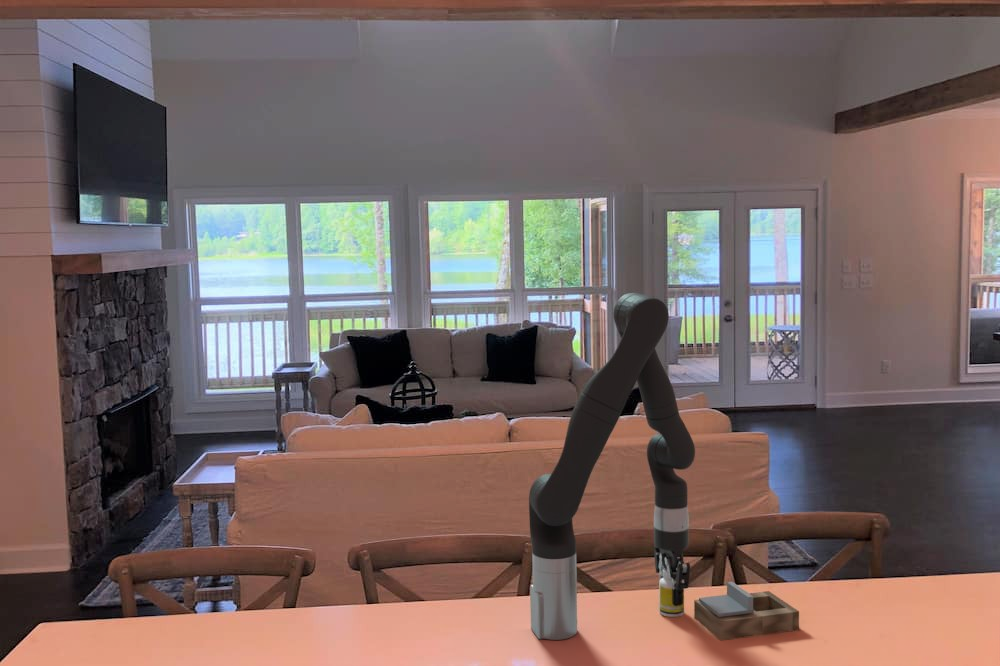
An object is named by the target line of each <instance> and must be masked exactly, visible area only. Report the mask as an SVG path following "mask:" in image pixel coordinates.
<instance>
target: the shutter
mask: <svg viewBox="0 0 1000 666" xmlns="http://www.w3.org/2000/svg"><path fill="white" fill-rule="evenodd" d="M698 600H699V601H700V602H701V603H702V604H703V605H704V606H706V607H707V608H708V609H709V610H711V611H712V612H713V613H714V614H716V615H717V616H718V617H724V616H732V615H740V614H747V613H754V609H753V596H752V595H750V594H749V592H748V591H746V590H744V589H743V588H742V587H740V586H739V585H738V584H736V583H735V582H733V581H727V582H726V594H723V595H722V594H720V595H713V596H705V597H699V598H698Z"/></svg>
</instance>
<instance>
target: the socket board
mask: <svg viewBox="0 0 1000 666" xmlns="http://www.w3.org/2000/svg"><path fill="white" fill-rule="evenodd" d="M748 593H749V592H748ZM749 594H750V595H752V596H753V609H754V613H747V614H740V615H732V616H724V617H718V616H717V615H716V614H714V613H713V612H712V611H711V610H709V609H708V608H707V607H706V606H704V605H703V604H702V603H701V602H700V601H699V599H694V601H693V602H694V603H693V605H694V606H693V607H694V610H693V611H694V612H693V613H694V615H693V616H694V617H693V618H694V619H695V620H696V619H697V620H698V621H699V623H700V624H701V625H702V626H703V627H704V628H705V629H707V631H709V632H710V633H711V634H712V635H713V636H715V637H716V638H717V639H718V640H719V641H726V640H734V639H742V638H748V637H757V636H762V635H763V636H765V635H770V634H771V635H773V634H779V633H787V632H793V631H799V630H800V611H799V609H796V608H794V607H793V606H792V605H790V604H789V603H788V602H786V601H784V600H783V599H781V598H780V597H778V596H777V595H776V594H774V593H773V592H771V591H769V590H766V591H760V592H751V593H749ZM697 620H696V621H697ZM698 621H697V622H698Z"/></svg>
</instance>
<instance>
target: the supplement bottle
mask: <svg viewBox="0 0 1000 666" xmlns="http://www.w3.org/2000/svg"><path fill="white" fill-rule="evenodd" d="M672 573H673V574H677V572H672ZM675 582H676V578H675ZM658 583H659V584H658V585H659V586H658V590H659V591H658V592H659V593H658V597H659V598H658V599H659V600H658V601H659V603H658V611H659V613H660V615H662V616H664V617H667V616H668V617H669V618H677V617H681V616H683V614H684V613H685V589H683V604H682V605H679V606H674V605H673V604H672V583H671V579H670V578H669V577H668V571H667V569H665V568H664V569H663V578H659V582H658Z"/></svg>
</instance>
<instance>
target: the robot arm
mask: <svg viewBox="0 0 1000 666" xmlns="http://www.w3.org/2000/svg"><path fill="white" fill-rule="evenodd" d="M612 314H613V321H614V324H615V327H616V329H617V331H618V334H619V337H620V341H619V343H618V345H617V347H616V349H615V351H614V353H613V354H612V355H611V357H610V358H609V359H608V360H607V361H606V362H605V363H604V365H602V366H601V367H600V369H598V370H597V372H595V373H594V375H593V376H592V377H591V378H590V379H589V380H588V381H587V382H586V384H585V385H584V387H583V388H582V391H581V393H580V394H579V397H578V399H577V401H576V403H575V405H574V408H573V410H572V412H571V415H570V419H569V422H568V425H567V430H566V434H565V438H564V439H565V440H564V444H563V448H562V450H561V455H560V457H559V459H558V461H557V464H556V465H555V467H554V469H553V471H552V472H551V473H546V474H542V475H540V476H539V477H538V478H536V479H535V480H534V481H533V483H532V484H531V486H530V490H529V492H528V493H529V495H528V511H529V512H528V513H529V514H528V515H529V533H530V540H531V541H530V542H531V549H532V550H531V551H532V553H531V554H532V555H531V556H532V557H531V558H532V561H531V562H532V584H531V585H530V586H529V591H530V592H529V595H530V606H529V607H530V629H531V630H532V632H533V633H534V635H535V636H536V638H537V639H539V640H543V639H546V640H553V641H555V640H557V641H558V640H559V641H560V640H561V641H562V640H566V639H570V638H573V637H574V636H576V634H577V633H578V598H577V597H578V594H577V593H578V592H577V591H578V586H577V583H578V582H577V581H578V580H577V540H576V536H575V535H576V534H575V531H574V525H573V517H574V516H575V515H576V514H577V512H578V510H579V507H580V504H581V502H582V499H583V496H584V494H585V491H586V488H587V484H588V483H589V479H590V476H591V473H592V472H593V470H594V467H595V466H596V464H597V462H598V460H599V458H600V457H601V454H602V452H603V450H604V448H605V446H606V444H607V442H608V440H609V438H610V436H611V434H612V432H613V431H614V429H615V427H616V426H617V423H618V421H619V419H620V416H621V414H622V412H623V410H624V408H625V406H626V404H627V402H628V398H629V397H630V396H631V393H632V391H633V389H634V387H635V385H636V383H637V386H638V389H639V394H640V396H641V397H640V398H641V401H642V405H643V409H644V414H645V418H646V421H647V424H648V426H649V427H650V429H651V430H654V431H655V432H657V433H655V434H653V436H652V437H651V438H650V440H649V441H648V443H647V446H646V447H647V448H646V458H647V463H648V467H649V470H650V475H651V477H652V478H651V479H652V480H653V485H654V510H653V511H654V512H653V544H654V546H653V553H654V565H655V572H656V574H658V577H659V579H661V578H663V569H664V568H665V569H667V571H668V577H669V578H670V579H671V583H672V604H673V605H674V606H679V605H682V604H683V589H684V590H685V589H689V585H690V572H691V564H690V562H686V563H685V560H684V555H683V551H684V550H685V549H687V548H688V547H689V546H690V545H689V544H690V540H689V539H690V536H689V535H690V534H689V533H690V531H689V530H690V529H689V528H690V526H689V524H690V523H689V518H690V517H689V508H688V484H687V482H686V480H685V479H684V478H682V477H681V476H679V475H678V474H677V473H676V472H675V470H680V471H681V470H686V469H688V468H690V467H691V466H692V464H693V462H694V460H695V457H696V456H695V455H696V448H695V447H696V446H695V443H694V441H693V438H692V436H691V433H690V432H689V430H688V428H687V426H686V424H685V422H684V421H683V419H682V418H681V416H680V411H679V407H678V403H677V399H676V394H675V391H674V388H673V385H672V383H671V380H670V378H669V376H668V374H667V372H666V370H665V368H664V366H663V364H662V362H661V360H660V358H659V355H658V353H657V351H656V347H657V346H658V344H659V342H660V341H661V339H662V337H663V336H664V334H665V332H666V329H667V328H668V323H669V320H670V319H669V318H670V316H669V309H668V306H667V305H666V303H665V302H664V301H663V300H662V299H661V300H660V299H659V298H657V297H654V296H649V295H646V294H644V293H640V292H639V293H638V292H629V293H628V292H627V293H625V294H623V295H622V296H620V298H619V299H618V300H617V301H616V303H615V304H614V308H613V313H612ZM672 572H677V574H673V573H672ZM675 578H676V582H675Z"/></svg>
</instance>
